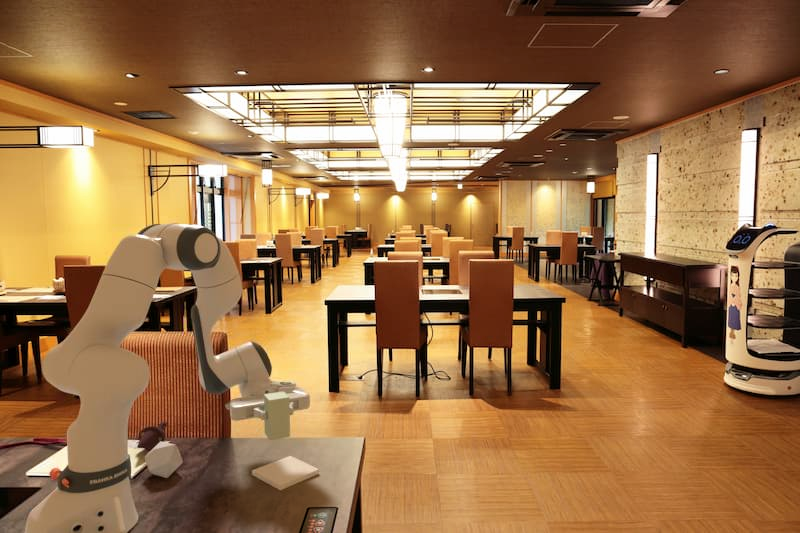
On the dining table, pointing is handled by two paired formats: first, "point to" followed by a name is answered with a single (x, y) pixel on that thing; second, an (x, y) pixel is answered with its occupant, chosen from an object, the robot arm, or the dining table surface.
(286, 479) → the cream tile
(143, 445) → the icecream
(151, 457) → the die
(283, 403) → the green block
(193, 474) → the dining table surface
